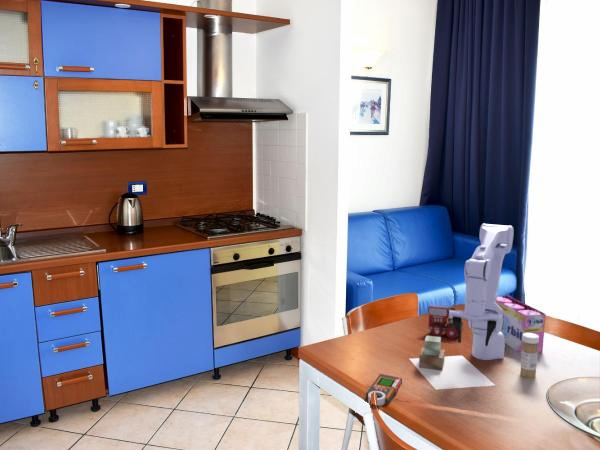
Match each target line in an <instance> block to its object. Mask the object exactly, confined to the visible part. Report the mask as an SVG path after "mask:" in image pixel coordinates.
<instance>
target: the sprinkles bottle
mask: <svg viewBox="0 0 600 450" xmlns="http://www.w3.org/2000/svg"><path fill="white" fill-rule="evenodd" d="M538 342H539V336H538V335H537V334H534V333H524V334H523V335H522V353H520V371H519V372H520V374H519V375H520V376H521V378H525V379H534V378H537V377H536V376H537V375H536V373H537V366H538V355H539V353H538V352H537V349H538Z"/></svg>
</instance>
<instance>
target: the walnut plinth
mask: <svg viewBox="0 0 600 450" xmlns="http://www.w3.org/2000/svg"><path fill="white" fill-rule="evenodd" d="M445 357H446V350H445V349H442V348H441V350H440V355H439V356H433V355H425V354H424V347H423V346H422V347H421V350H420V353H419V357H418V358H419V368H426V369H434V370H441V371H442V370H443V366H444V359H445Z"/></svg>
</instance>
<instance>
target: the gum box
mask: <svg viewBox="0 0 600 450" xmlns="http://www.w3.org/2000/svg"><path fill="white" fill-rule="evenodd" d="M496 304H497V305H498V306H500V307H501V308H502V310H503V325H502V330H501V332H502V333H503V335H504V338H505V344H506V345H508V346H509V347H511V348H512V349H514V350H515V351H517V352H519V353H520V354H521V353H522V335H523V334H524V333H534V334H537V335H538V336H539V342H538V349H537V352H538V354H540V353H543V349H544V338H545V328H546V327H545V325H546V313H544V312H543V311H541V310H539V309H537V308H534V307H532V306H530V305H528V304H525V303H524V302H522V301H520V300H518V299H516V298H514V297H512V296H509V295H508V294H503V295H502V296H497V299H496ZM492 313H493V312H492Z"/></svg>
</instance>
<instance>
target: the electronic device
mask: <svg viewBox="0 0 600 450" xmlns="http://www.w3.org/2000/svg"><path fill="white" fill-rule="evenodd" d="M402 384H403V379H402V378H401V377H398V376H393V375H389V374H388V375H387V374H382V373H380V374H378V376H377V377H376V379H375V380H374V382H372V385H370V387H369V388H368V390H367V391H366V393H365V399H366V400H367V401H368V403H369V404H370V400H371V394H372V393H373V392H375V393H376V395H377V405H378V406H377V407H380V406H383V405H385V404H386V405H390V404H391V402H392V401H393V400H394V398H395V396H397V394H398V392H399V389H400V387H401V385H402Z"/></svg>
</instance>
